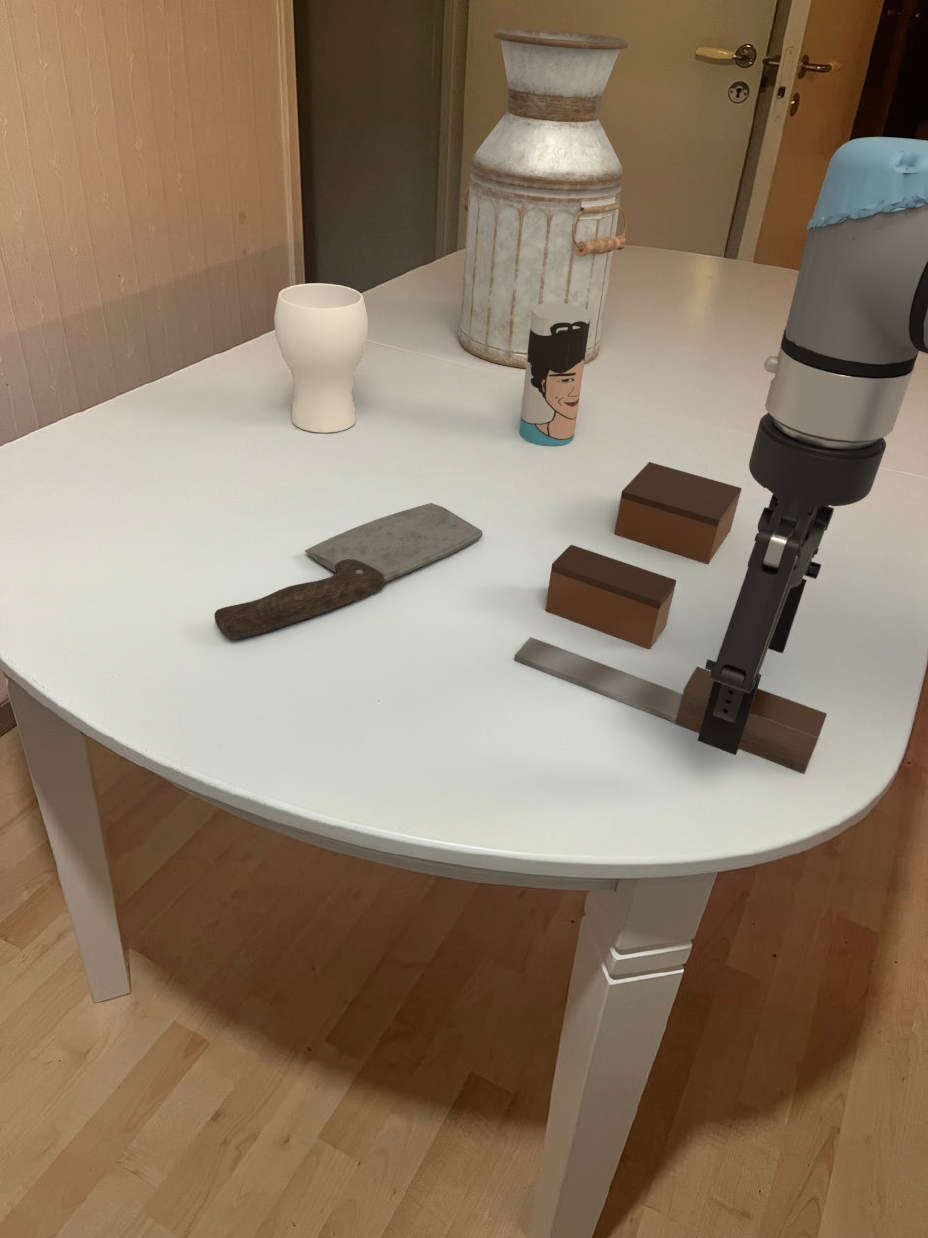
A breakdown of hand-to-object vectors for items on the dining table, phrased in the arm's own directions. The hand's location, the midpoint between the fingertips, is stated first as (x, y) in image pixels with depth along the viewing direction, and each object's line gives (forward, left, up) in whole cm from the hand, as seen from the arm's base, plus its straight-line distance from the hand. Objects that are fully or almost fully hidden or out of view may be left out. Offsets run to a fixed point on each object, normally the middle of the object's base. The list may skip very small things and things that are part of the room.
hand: (743, 692), depth 69 cm
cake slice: (+14, -9, -4) cm, 17 cm away
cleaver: (+37, -2, -4) cm, 37 cm away
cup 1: (+59, -28, -4) cm, 65 cm away
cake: (+14, -27, -4) cm, 31 cm away
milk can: (+51, -69, -4) cm, 86 cm away
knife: (+5, 0, -4) cm, 7 cm away
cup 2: (+35, -41, -4) cm, 54 cm away
